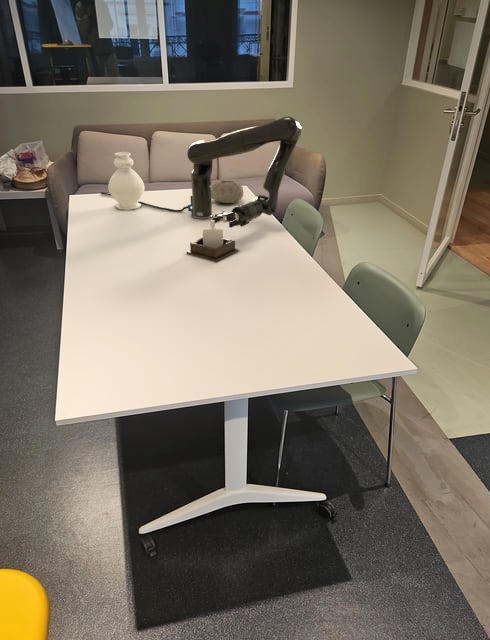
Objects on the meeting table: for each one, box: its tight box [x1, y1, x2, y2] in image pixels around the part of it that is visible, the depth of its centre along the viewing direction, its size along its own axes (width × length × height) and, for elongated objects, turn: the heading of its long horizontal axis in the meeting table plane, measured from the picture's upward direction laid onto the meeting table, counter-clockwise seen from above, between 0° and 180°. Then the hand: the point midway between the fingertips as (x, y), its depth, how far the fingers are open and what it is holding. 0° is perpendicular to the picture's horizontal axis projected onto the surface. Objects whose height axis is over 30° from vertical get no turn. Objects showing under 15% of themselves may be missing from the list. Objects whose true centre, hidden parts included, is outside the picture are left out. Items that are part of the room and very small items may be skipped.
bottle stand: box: [186, 237, 239, 263], centre depth 203 cm, size 15×15×4 cm
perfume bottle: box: [202, 219, 224, 248], centre depth 200 cm, size 8×2×12 cm, turn 91°
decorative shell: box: [211, 179, 244, 204], centre depth 264 cm, size 18×18×10 cm
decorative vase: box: [107, 151, 146, 211], centre depth 250 cm, size 18×18×25 cm
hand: (221, 223), depth 202 cm, fingers open, 8 cm apart
